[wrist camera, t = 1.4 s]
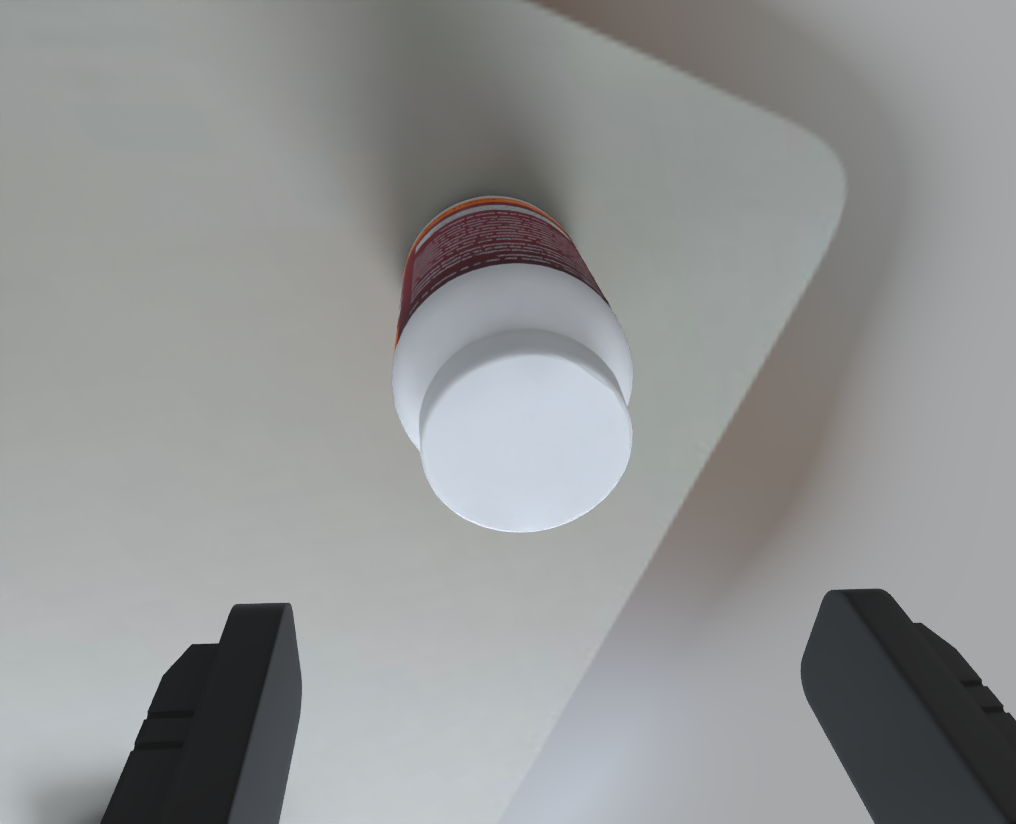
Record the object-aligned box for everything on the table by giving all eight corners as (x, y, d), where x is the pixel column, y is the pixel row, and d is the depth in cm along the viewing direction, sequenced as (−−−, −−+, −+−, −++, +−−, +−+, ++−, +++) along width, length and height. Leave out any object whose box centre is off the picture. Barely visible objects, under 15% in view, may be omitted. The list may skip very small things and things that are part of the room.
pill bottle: (366, 258, 24) (318, 418, 14) (518, 153, 23) (578, 251, 13) (469, 391, 27) (487, 598, 17) (609, 303, 25) (713, 474, 16)
